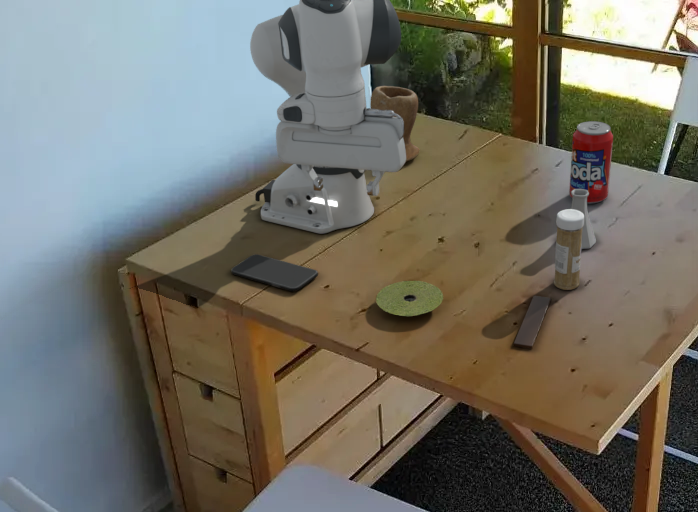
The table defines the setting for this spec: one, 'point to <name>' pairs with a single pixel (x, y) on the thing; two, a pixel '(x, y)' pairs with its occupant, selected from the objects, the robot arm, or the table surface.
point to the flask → (581, 205)
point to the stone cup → (399, 110)
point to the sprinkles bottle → (568, 248)
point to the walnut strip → (532, 322)
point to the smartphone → (274, 272)
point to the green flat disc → (409, 298)
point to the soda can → (591, 160)
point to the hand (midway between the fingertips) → (345, 191)
